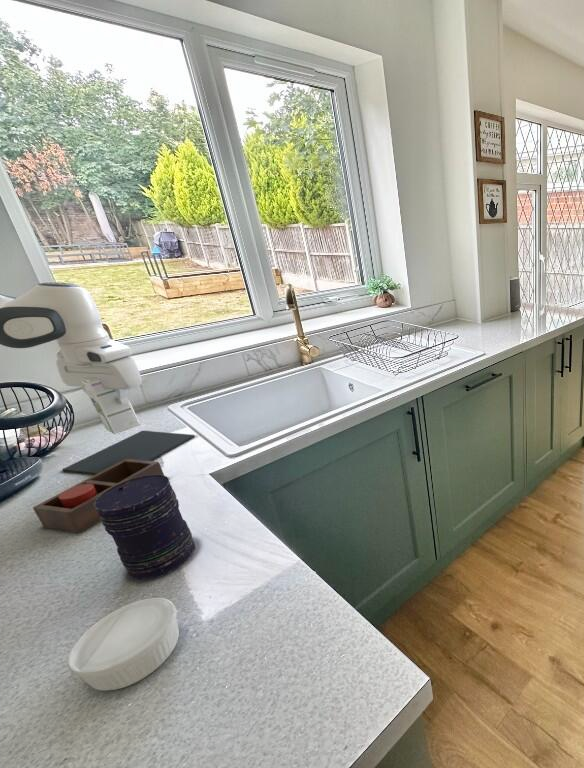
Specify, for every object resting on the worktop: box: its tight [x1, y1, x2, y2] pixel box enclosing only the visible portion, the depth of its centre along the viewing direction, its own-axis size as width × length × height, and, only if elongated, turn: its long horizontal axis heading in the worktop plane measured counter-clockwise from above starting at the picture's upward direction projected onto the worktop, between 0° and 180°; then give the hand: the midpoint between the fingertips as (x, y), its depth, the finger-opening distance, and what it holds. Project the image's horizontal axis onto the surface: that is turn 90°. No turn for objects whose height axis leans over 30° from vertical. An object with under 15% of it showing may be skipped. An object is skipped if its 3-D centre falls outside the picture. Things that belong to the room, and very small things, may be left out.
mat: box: [61, 430, 195, 476], centre depth 110 cm, size 18×20×1 cm
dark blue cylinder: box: [94, 475, 196, 581], centre depth 72 cm, size 10×10×15 cm
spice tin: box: [59, 484, 98, 509], centre depth 86 cm, size 5×5×6 cm
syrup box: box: [81, 379, 141, 435], centre depth 105 cm, size 6×6×14 cm
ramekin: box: [66, 597, 180, 692], centre depth 57 cm, size 11×11×5 cm
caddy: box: [32, 459, 165, 534], centre depth 90 cm, size 10×18×5 cm, turn 169°
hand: (111, 402), depth 105 cm, fingers closed on syrup box, 6 cm apart
